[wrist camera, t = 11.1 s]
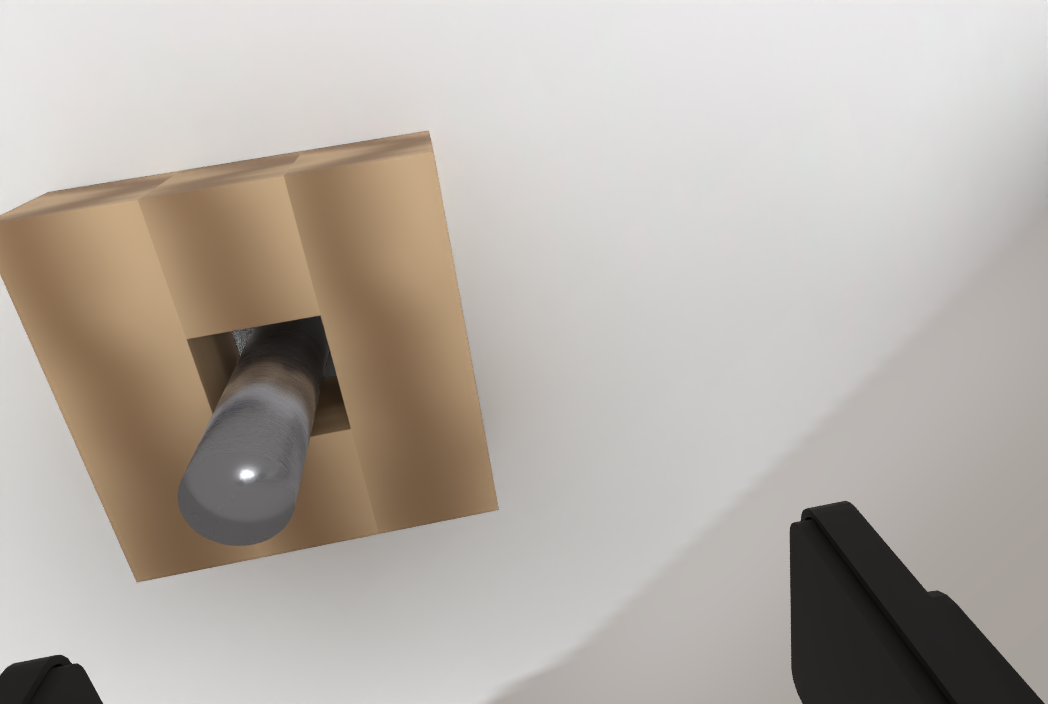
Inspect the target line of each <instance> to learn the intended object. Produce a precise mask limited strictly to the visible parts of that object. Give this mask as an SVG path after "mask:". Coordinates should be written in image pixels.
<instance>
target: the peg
mask: <svg viewBox="0 0 1048 704" xmlns="http://www.w3.org/2000/svg"><path fill="white" fill-rule="evenodd" d="M329 349H330V348H329V345H328V341H327V337H326V333H325V330H324V326H323V322H322V318H321V315H320V316H314V317H308V318H303V319H297V320H291V321H286V322H280V323H275V324H269V325H263V326H258V327H254V329H253V331H252V333H251V335H250V337H249V340H248V342H247V344H246V346H245V348H244V350H243V352H242V354H241V356H240V358H239V360H238V363H237V365H236V367H235V369H234V371H233V373H232V375H231V377H230V379H229V381H228V383H227V385H226V388H225V390H224V392H223V394H222V396H221V398H220V400H219V402H218V404H217V406H216V408H215V411H214V413H213V415H212V417H211V419H210V421H209V423H208V425H207V427H206V429H205V431H204V433H203V436H202V438H201V440H200V442H199V444H198V446H197V448H196V450H195V452H194V454H193V456H192V459H191V461H190V463H189V465H188V467H187V469H186V471H185V473H184V475H183V477H182V479H181V482H180V485H179V488H178V505H179V508H180V511H181V514H182V516H183V517H184V519H185V520H186V522H187V523H188V524H189V525H190V527H191V528H192V529H194V530H195V531H196V532H197V533H199V534H200V535H202V536H203V537H205V538H207V539H209V540H211V541H214V542H217V543H220V544H224V545H230V546H247V545H254V544H258V543H261V542H264V541H266V540H268V539H270V538H272V537H274V536H275V535H277V534H278V533H279V532H281V531H282V530H283V529H284V528H285V527H286V525H287V524H288V523H289V521H290V519H291V517H292V515H293V513H294V509H295V505H296V500H297V495H298V491H299V486H300V482H301V477H302V473H303V468H304V463H305V459H306V454H307V450H308V445H309V441H310V436H311V432H312V427H313V422H314V418H315V413H316V409H317V404H318V400H319V395H320V390H321V386H322V381H323V377H324V372H325V368H326V363H327V358H328V354H329Z"/></svg>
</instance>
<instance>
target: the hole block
mask: <svg viewBox="0 0 1048 704" xmlns="http://www.w3.org/2000/svg"><path fill="white" fill-rule="evenodd" d="M0 274H1V277H2V279H3V281H4V284H5V286H6V288H7V290H8V293H9V295H10V297H11V299H12V302H13V304H14V306H15V308H16V311H17V313H18V315H19V317H20V320H21V322H22V324H23V326H24V329H25V331H26V333H27V335H28V338H29V340H30V342H31V344H32V347H33V349H34V351H35V354H36V356H37V358H38V360H39V363H40V365H41V367H42V369H43V372H44V374H45V376H46V378H47V381H48V383H49V385H50V387H51V390H52V392H53V394H54V396H55V399H56V401H57V403H58V405H59V408H60V410H61V412H62V415H63V417H64V419H65V421H66V424H67V426H68V428H69V430H70V433H71V435H72V437H73V439H74V442H75V444H76V446H77V448H78V451H79V453H80V455H81V457H82V460H83V462H84V464H85V466H86V469H87V471H88V473H89V475H90V478H91V480H92V482H93V485H94V487H95V489H96V491H97V494H98V496H99V498H100V500H101V503H102V505H103V507H104V509H105V512H106V514H107V516H108V518H109V521H110V523H111V525H112V527H113V530H114V532H115V534H116V536H117V539H118V541H119V543H120V545H121V548H122V550H123V552H124V555H125V557H126V559H127V561H128V564H129V566H130V568H131V570H132V573H133V575H134V577H135V579H136V582H142V581H147V580H152V579H157V578H162V577H167V576H172V575H177V574H182V573H187V572H192V571H197V570H201V569H206V568H211V567H216V566H221V565H226V564H231V563H236V562H241V561H246V560H251V559H256V558H261V557H266V556H271V555H276V554H281V553H286V552H291V551H296V550H301V549H306V548H311V547H316V546H321V545H326V544H331V543H336V542H341V541H346V540H351V539H356V538H361V537H366V536H371V535H376V534H381V533H386V532H391V531H396V530H401V529H406V528H411V527H416V526H421V525H426V524H430V523H435V522H440V521H445V520H450V519H455V518H460V517H465V516H470V515H475V514H480V513H485V512H490V511H495V510H499V509H498V503H497V498H496V492H495V487H494V481H493V476H492V470H491V465H490V459H489V454H488V448H487V443H486V438H485V432H484V427H483V421H482V416H481V410H480V405H479V399H478V394H477V388H476V383H475V377H474V372H473V366H472V361H471V355H470V350H469V344H468V339H467V333H466V328H465V322H464V317H463V311H462V306H461V300H460V295H459V289H458V284H457V278H456V273H455V267H454V262H453V256H452V251H451V246H450V240H449V235H448V229H447V224H446V218H445V213H444V207H443V202H442V196H441V191H440V185H439V180H438V174H437V169H436V163H435V158H434V152H433V148H432V143H431V139H430V135H429V131H424V132H418V133H412V134H406V135H399V136H393V137H387V138H381V139H375V140H368V141H362V142H356V143H350V144H344V145H337V146H331V147H325V148H319V149H313V150H306V151H300V152H294V153H288V154H282V155H276V156H269V157H263V158H257V159H251V160H245V161H238V162H232V163H226V164H220V165H214V166H207V167H201V168H195V169H189V170H183V171H176V172H170V173H164V174H158V175H152V176H146V177H139V178H133V179H127V180H121V181H115V182H108V183H102V184H96V185H90V186H84V187H77V188H71V189H65V190H59V191H53V192H47V193H45V194H43V195H41V196H39V197H37V198H35V199H33V200H31V201H29V202H27V203H25V204H23V205H21V206H19V207H17V208H15V209H13V210H11V211H9V212H7V213H4V214H2V215H0ZM320 315H321V318H322V322H323V326H324V330H325V333H326V337H327V341H328V345H329V348H330V352H331V356H332V360H333V363H334V367H335V371H336V375H337V376H332V377H327V378H323V381H322V386H321V390H320V395H319V400H318V404H317V409H316V413H315V418H314V422H313V427H312V432H311V436H310V441H309V445H308V450H307V454H306V459H305V463H304V468H303V473H302V477H301V482H300V486H299V491H298V495H297V500H296V505H295V509H294V513H293V515H292V517H291V519H290V521H289V523H288V524H287V525H286V527H285V528H284V529H283V530H282V531H281V532H279V533H278V534H277V535H275V536H274V537H272V538H270V539H268V540H266V541H264V542H261V543H258V544H254V545H247V546H230V545H224V544H220V543H217V542H214V541H211V540H209V539H207V538H205V537H203V536H202V535H200V534H199V533H197V532H196V531H195V530H194V529H192V528H191V527H190V525H189V524H188V523H187V522H186V520H185V519H184V517H183V516H182V514H181V511H180V508H179V505H178V488H179V485H180V482H181V479H182V477H183V475H184V473H185V471H186V469H187V467H188V465H189V463H190V461H191V459H192V456H193V454H194V452H195V450H196V448H197V446H198V444H199V442H200V440H201V438H202V436H203V433H204V431H205V429H206V427H207V425H208V423H209V421H210V419H211V417H212V415H213V413H214V411H215V408H216V406H217V404H218V402H219V400H220V398H221V396H222V394H223V392H224V390H225V388H226V385H227V383H228V381H229V379H230V377H231V375H232V373H233V371H234V369H235V367H236V365H237V363H238V360H239V358H240V355H239V352H238V349H237V346H236V343H235V340H234V337H233V333H232V331H235V330H241V329H247V328H252V327H258V326H263V325H269V324H275V323H280V322H286V321H291V320H297V319H303V318H308V317H314V316H320Z"/></svg>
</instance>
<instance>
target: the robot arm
mask: <svg viewBox="0 0 1048 704" xmlns="http://www.w3.org/2000/svg"><path fill="white" fill-rule="evenodd" d="M790 588H791V660H792V661H791V662H792V663H791V664H792V665H791V667H792V675H793V680H794V684H795V687H796V689H797V693H798V695H799V697H800V699H801V701H802V703H803V704H1044V703H1043V701H1042V700H1041V699H1040V698H1039V697H1038V696H1037V695H1036V693H1035V692H1034V691H1033V690H1032V689H1031V688H1030V687H1029V685H1027V683H1026V682H1025V681H1024V680H1023V679H1022V678H1021V676H1020V675H1019V674H1018V673H1017V672H1016V671H1015V670H1014V669H1013V667H1012V666H1011V665H1010V664H1009V663H1008V662H1007V661H1006V659H1005V658H1004V657H1003V656H1002V655H1001V654H1000V653H999V652H998V650H997V649H996V648H995V647H994V646H993V645H992V644H991V642H990V641H989V640H988V639H987V638H986V637H985V636H984V634H983V633H982V632H981V631H980V630H979V629H978V628H977V627H976V625H975V624H974V623H973V622H972V621H971V620H970V619H969V618H968V616H967V615H966V614H965V613H964V612H963V611H962V609H961V608H960V607H959V606H958V605H957V604H956V603H955V602H954V601H953V600H952V599H951V598H950V597H948V596H947V595H946V594H944V593H942V592H940V591H930V592H927V591H926V590H925V589H924V588H923V586H922V585H921V584H920V583H919V582H918V581H917V579H916V578H915V577H914V576H913V575H912V573H911V572H910V571H909V570H908V569H907V567H906V566H905V565H904V564H903V563H902V562H901V561H900V559H899V558H898V557H897V556H896V555H895V554H894V552H893V551H892V550H891V549H890V547H889V546H888V545H887V544H886V543H885V542H884V540H883V539H882V538H881V537H880V536H879V534H878V533H877V532H876V531H875V530H874V529H873V527H872V526H871V525H870V524H869V523H868V522H867V520H866V519H865V518H864V517H863V516H862V514H861V513H860V512H859V511H858V510H857V509H856V507H855V506H854V505H852V504H851V503H850V502H847V501H843V502H838V503H832V504H827V505H823V506H817V507H812V508H807V509H805V510H803V512H802V515H801V521H800V522H794V523H792V524H791V527H790ZM0 704H103V703H102V701H101V699H100V697H99V695H98V693H97V692H96V690H95V688H94V686H93V684H92V682H91V681H90V679H89V677H88V675H87V673H86V671H85V670H84V668H83V667H82V666H81V665H79V664H72V663H71V662H70V661H69V659H68V658H66V657H65V656H63V655H54V656H49V657H44V658H39V659H34V660H29V661H24V662H19V663H14V664H12V665H10V666H8V667H7V668H6V669H5V670H4V671H3V672H2V674H1V675H0Z"/></svg>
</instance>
